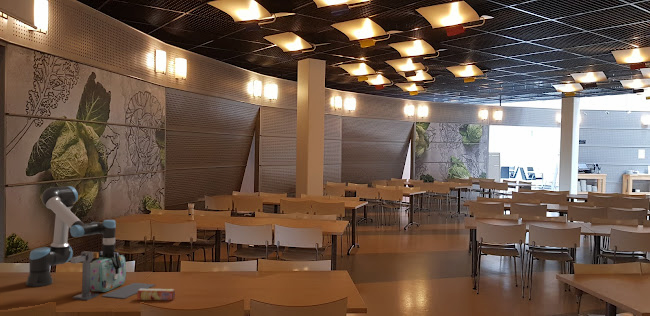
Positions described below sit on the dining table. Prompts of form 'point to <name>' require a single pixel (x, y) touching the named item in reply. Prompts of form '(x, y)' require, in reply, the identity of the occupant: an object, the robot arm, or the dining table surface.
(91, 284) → the lunch box
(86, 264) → the latch post
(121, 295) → the mat
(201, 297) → the dining table surface
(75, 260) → the bolt
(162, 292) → the snack package
